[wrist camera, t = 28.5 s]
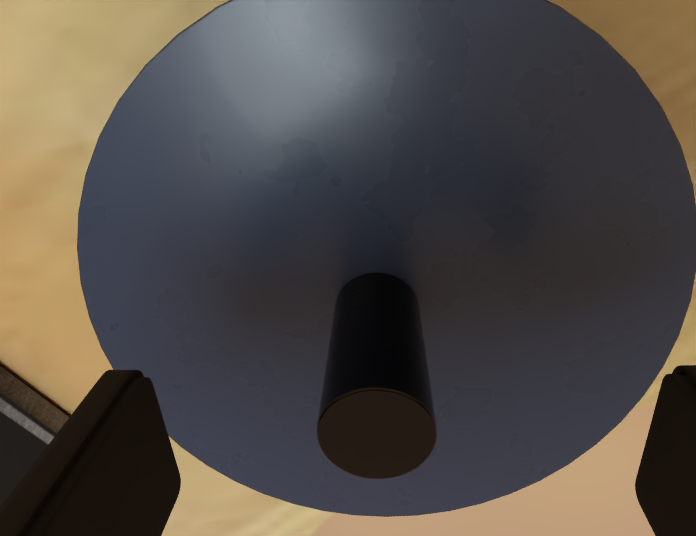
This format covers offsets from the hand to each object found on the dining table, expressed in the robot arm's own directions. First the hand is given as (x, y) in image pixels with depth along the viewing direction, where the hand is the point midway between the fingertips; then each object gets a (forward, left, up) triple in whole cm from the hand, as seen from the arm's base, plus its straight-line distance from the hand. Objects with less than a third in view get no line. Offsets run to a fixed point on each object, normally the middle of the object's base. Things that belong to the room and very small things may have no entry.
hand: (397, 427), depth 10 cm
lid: (0, +1, -6) cm, 6 cm away
